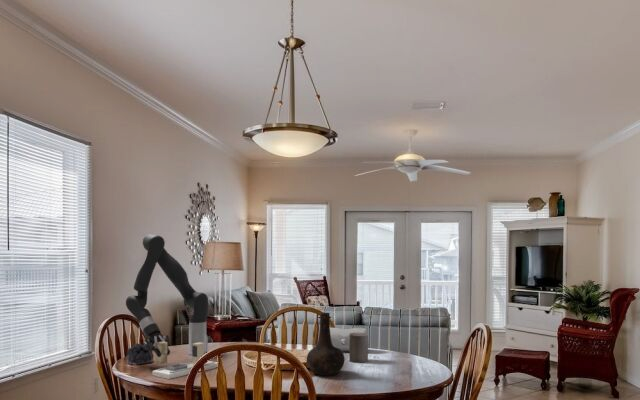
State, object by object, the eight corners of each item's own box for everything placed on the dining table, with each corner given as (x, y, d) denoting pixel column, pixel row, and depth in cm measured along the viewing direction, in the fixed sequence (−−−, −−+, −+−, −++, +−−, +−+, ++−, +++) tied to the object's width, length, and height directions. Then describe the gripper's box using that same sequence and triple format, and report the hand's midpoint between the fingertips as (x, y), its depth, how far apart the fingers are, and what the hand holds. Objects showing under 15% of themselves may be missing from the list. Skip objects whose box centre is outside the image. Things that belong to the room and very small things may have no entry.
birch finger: (163, 361, 284) (163, 341, 284) (168, 362, 281) (167, 342, 282) (156, 363, 280) (155, 342, 281) (160, 364, 278) (160, 343, 278)
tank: (320, 354, 314) (320, 330, 315) (325, 348, 330) (324, 326, 330) (366, 355, 310) (366, 331, 311) (368, 349, 326) (368, 327, 326)
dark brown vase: (333, 380, 257) (333, 316, 258) (299, 375, 265) (299, 314, 267) (351, 371, 272) (350, 311, 274) (318, 367, 281) (318, 309, 283)
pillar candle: (346, 362, 293) (346, 332, 294) (352, 358, 302) (352, 329, 303) (364, 363, 289) (364, 333, 290) (370, 359, 298) (370, 330, 299)
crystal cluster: (152, 365, 290) (154, 345, 291) (124, 365, 286) (126, 344, 288) (153, 362, 302) (155, 343, 304) (126, 361, 299) (128, 342, 301)
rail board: (202, 363, 290) (203, 339, 291) (218, 367, 283) (219, 342, 284) (152, 375, 267) (152, 348, 267) (168, 379, 259) (169, 352, 260)
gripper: (140, 324, 281) (155, 352, 273) (164, 320, 292) (179, 347, 284) (134, 334, 284) (148, 362, 276) (158, 330, 295) (173, 357, 287)
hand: (164, 355), depth 280 cm, fingers closed on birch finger, 4 cm apart
